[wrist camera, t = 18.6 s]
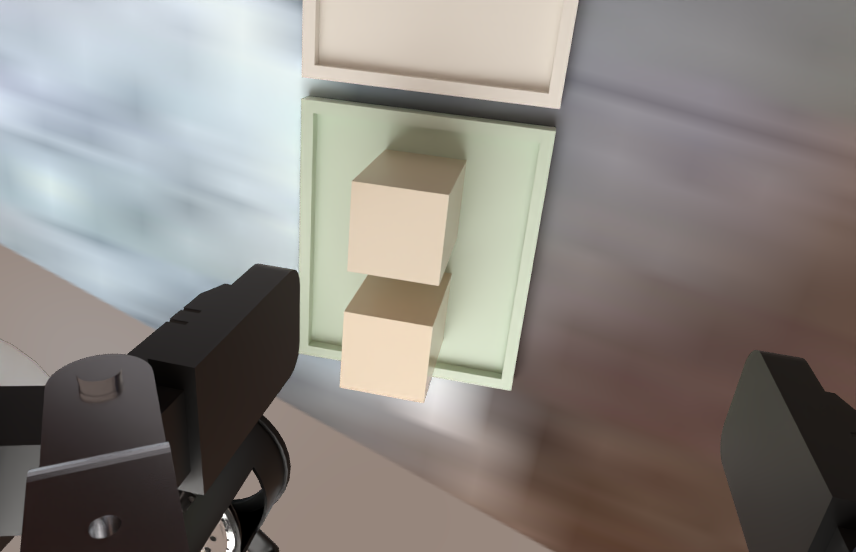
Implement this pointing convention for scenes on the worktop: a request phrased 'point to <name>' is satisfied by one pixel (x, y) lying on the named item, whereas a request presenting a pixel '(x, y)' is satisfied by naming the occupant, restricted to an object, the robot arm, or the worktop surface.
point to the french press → (239, 519)
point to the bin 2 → (477, 234)
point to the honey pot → (19, 368)
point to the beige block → (405, 216)
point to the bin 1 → (443, 46)
